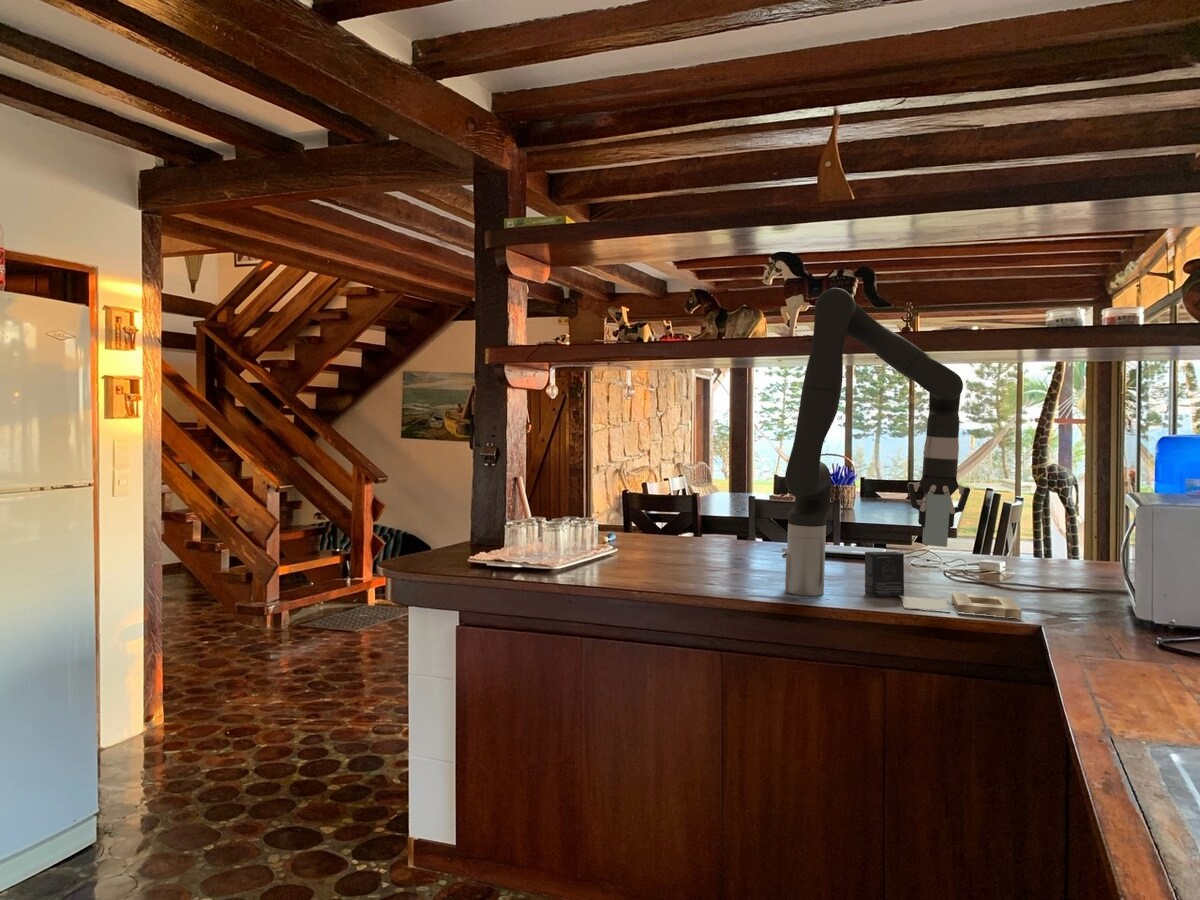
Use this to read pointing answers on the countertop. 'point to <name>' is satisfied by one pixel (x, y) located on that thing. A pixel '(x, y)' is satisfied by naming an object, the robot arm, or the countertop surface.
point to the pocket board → (986, 605)
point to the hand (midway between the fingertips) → (935, 527)
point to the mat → (923, 603)
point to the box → (884, 573)
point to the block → (936, 520)
